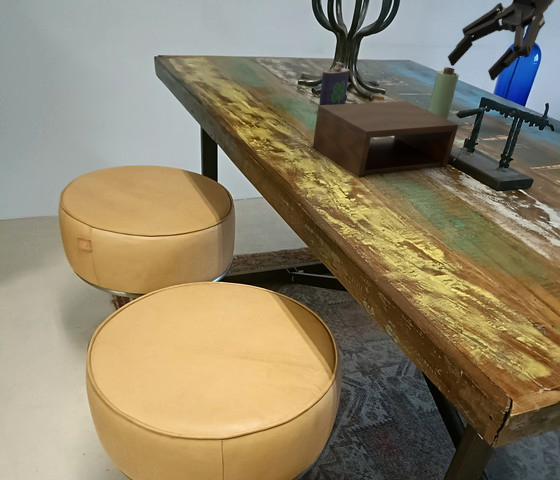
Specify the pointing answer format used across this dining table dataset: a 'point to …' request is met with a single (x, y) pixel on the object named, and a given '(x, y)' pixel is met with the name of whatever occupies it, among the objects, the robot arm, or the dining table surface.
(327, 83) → the flask
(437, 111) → the canister
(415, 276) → the dining table surface
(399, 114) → the shelf
